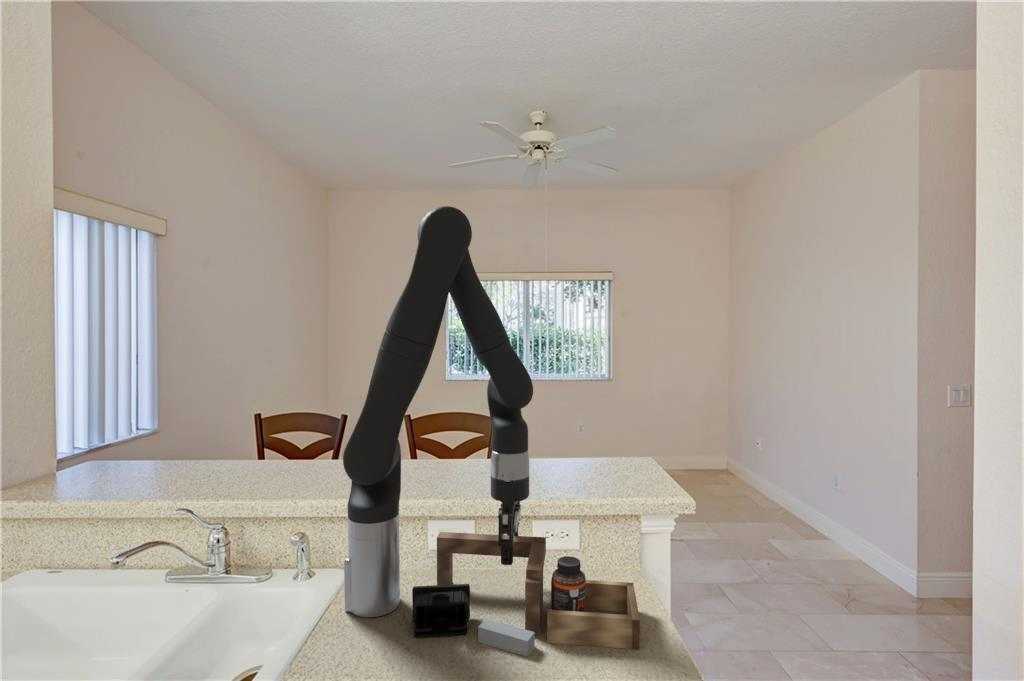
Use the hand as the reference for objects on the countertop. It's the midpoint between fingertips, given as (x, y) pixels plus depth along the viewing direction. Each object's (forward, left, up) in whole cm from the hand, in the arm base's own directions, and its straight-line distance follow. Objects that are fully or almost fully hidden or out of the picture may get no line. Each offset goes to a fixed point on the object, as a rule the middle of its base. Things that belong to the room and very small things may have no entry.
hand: (509, 554), depth 111 cm
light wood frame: (+16, -10, -7) cm, 20 cm away
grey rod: (+2, -18, -8) cm, 19 cm away
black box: (-10, -14, -8) cm, 19 cm away
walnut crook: (-4, -6, -7) cm, 10 cm away
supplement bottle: (+12, -10, -8) cm, 17 cm away
